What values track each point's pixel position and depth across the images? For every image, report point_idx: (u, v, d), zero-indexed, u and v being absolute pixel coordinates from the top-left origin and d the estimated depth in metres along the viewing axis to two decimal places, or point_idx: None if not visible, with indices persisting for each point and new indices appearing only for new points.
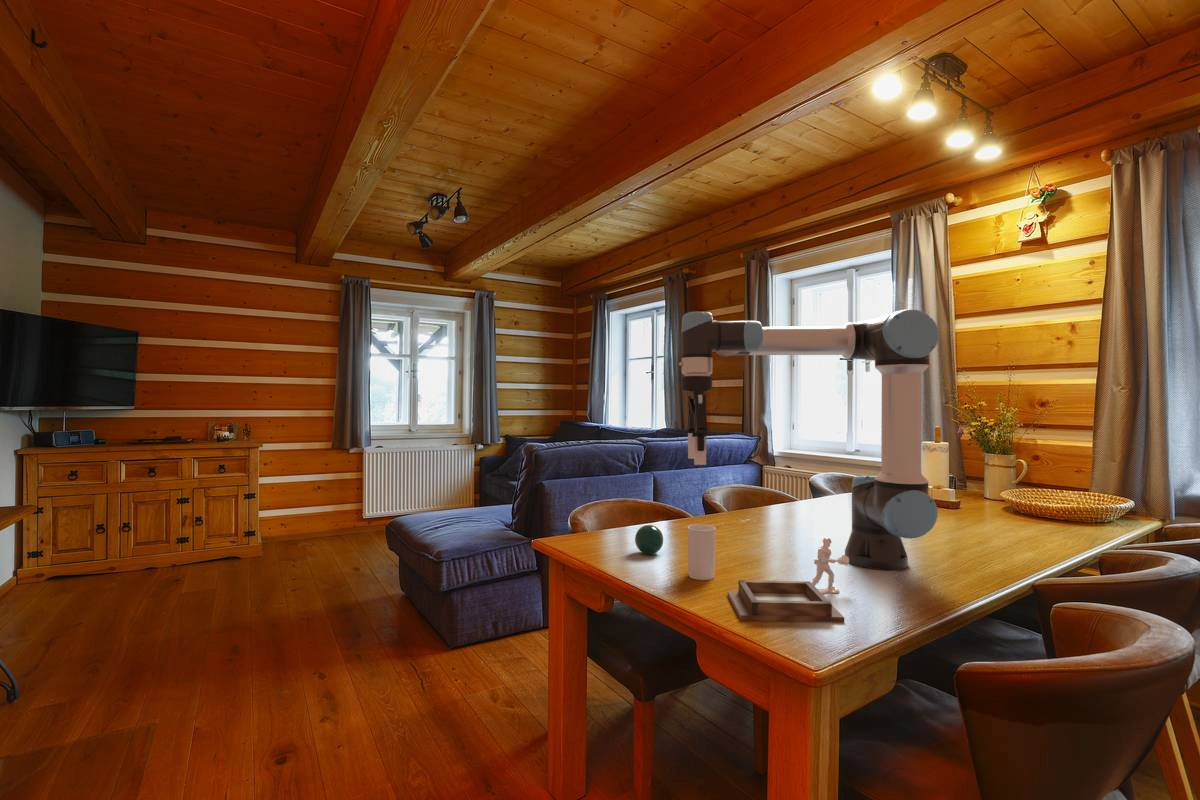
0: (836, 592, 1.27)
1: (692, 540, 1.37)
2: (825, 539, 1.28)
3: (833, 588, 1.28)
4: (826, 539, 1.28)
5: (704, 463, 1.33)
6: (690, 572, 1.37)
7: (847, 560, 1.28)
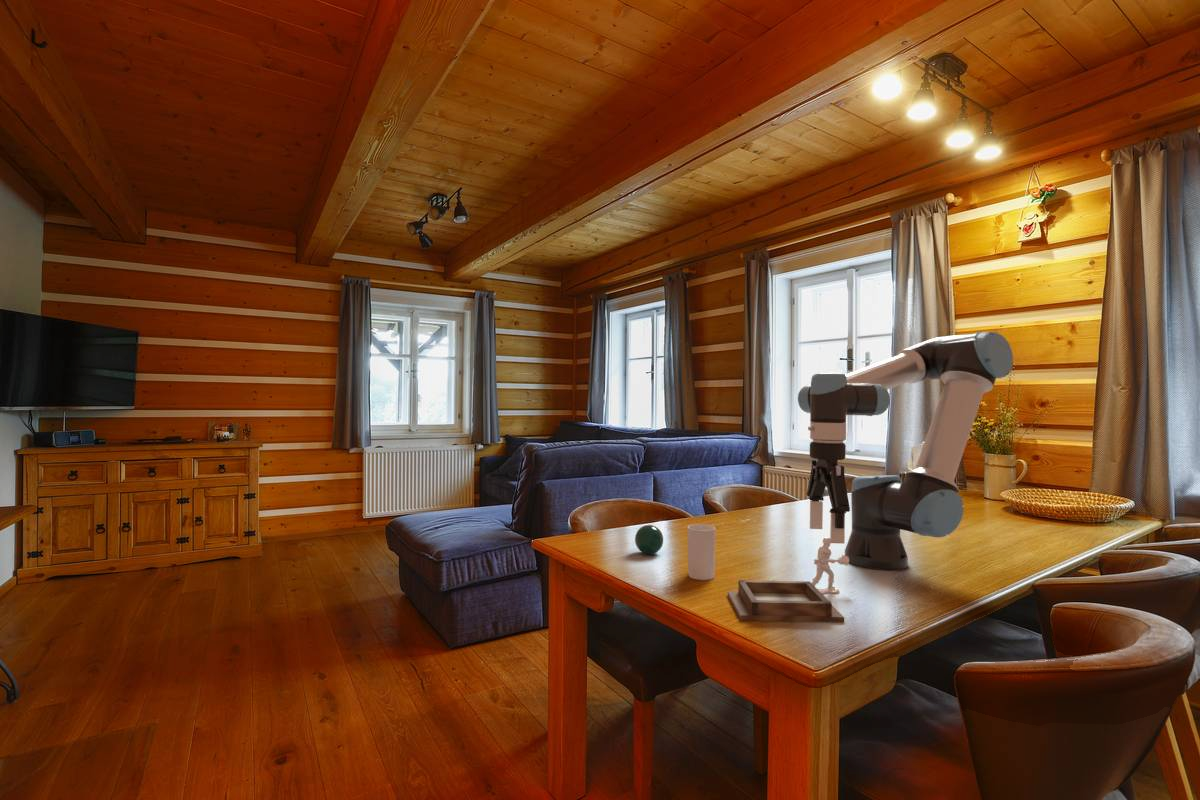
0: (836, 592, 1.27)
1: (692, 540, 1.37)
2: (825, 539, 1.28)
3: (833, 588, 1.28)
4: (826, 539, 1.28)
5: (842, 542, 1.21)
6: (690, 572, 1.37)
7: (847, 560, 1.28)
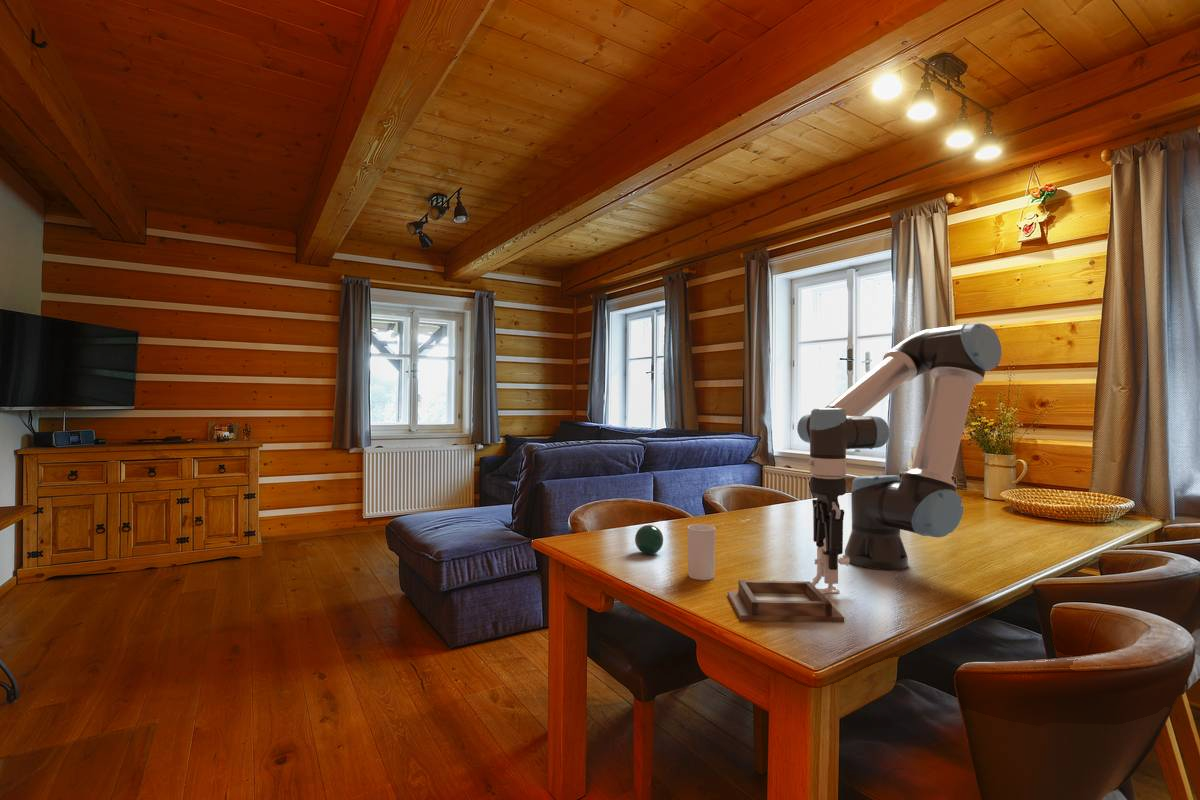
0: (836, 592, 1.27)
1: (692, 540, 1.37)
2: None
3: (833, 588, 1.28)
4: None
5: (836, 582, 1.25)
6: (690, 572, 1.37)
7: (847, 560, 1.28)
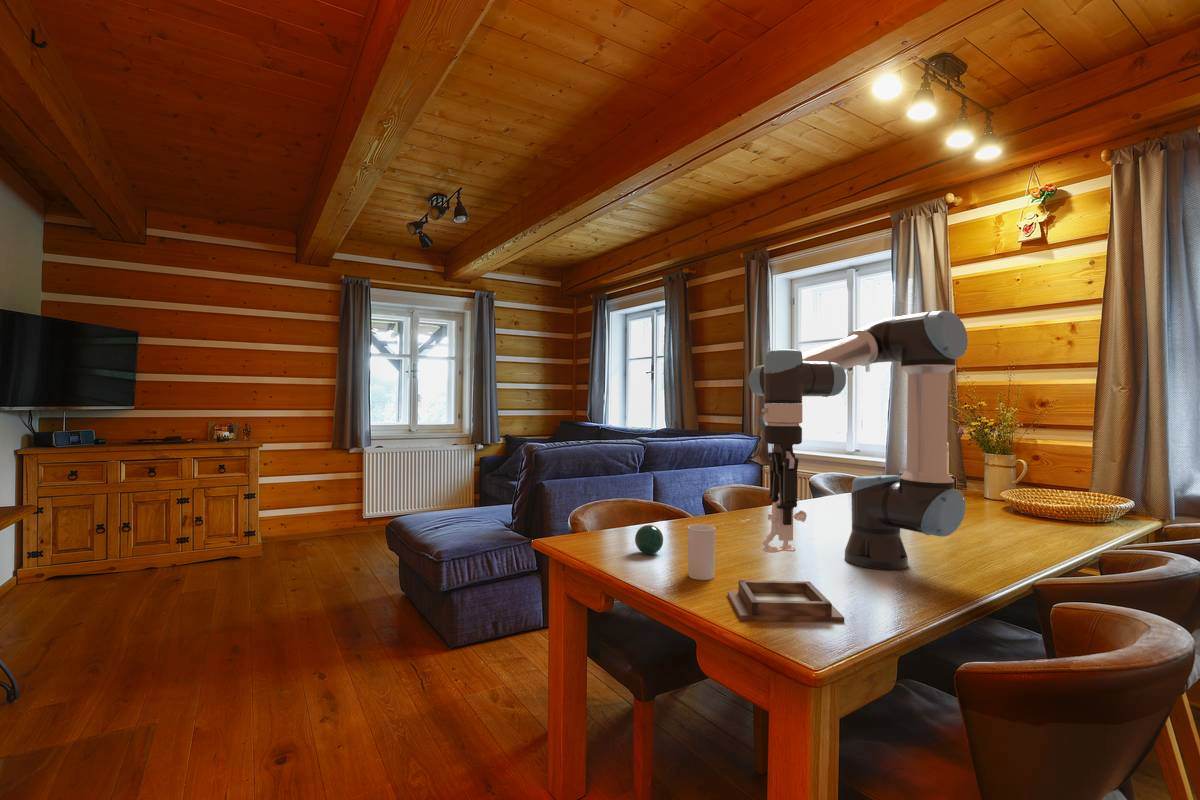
0: (791, 550, 1.16)
1: (692, 540, 1.37)
2: None
3: (788, 546, 1.17)
4: None
5: (791, 539, 1.15)
6: (690, 572, 1.37)
7: (804, 515, 1.17)
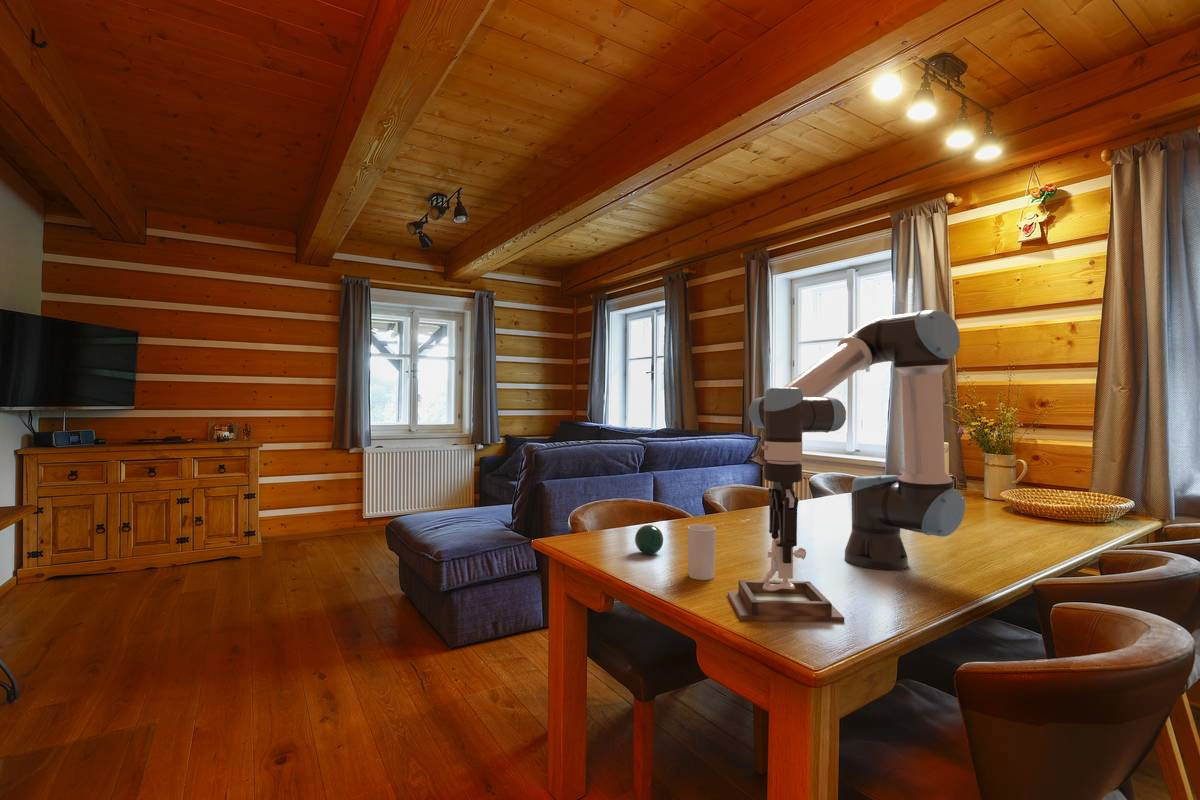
0: (791, 588, 1.16)
1: (692, 540, 1.37)
2: None
3: (788, 583, 1.17)
4: None
5: (790, 577, 1.15)
6: (690, 572, 1.37)
7: (804, 553, 1.17)
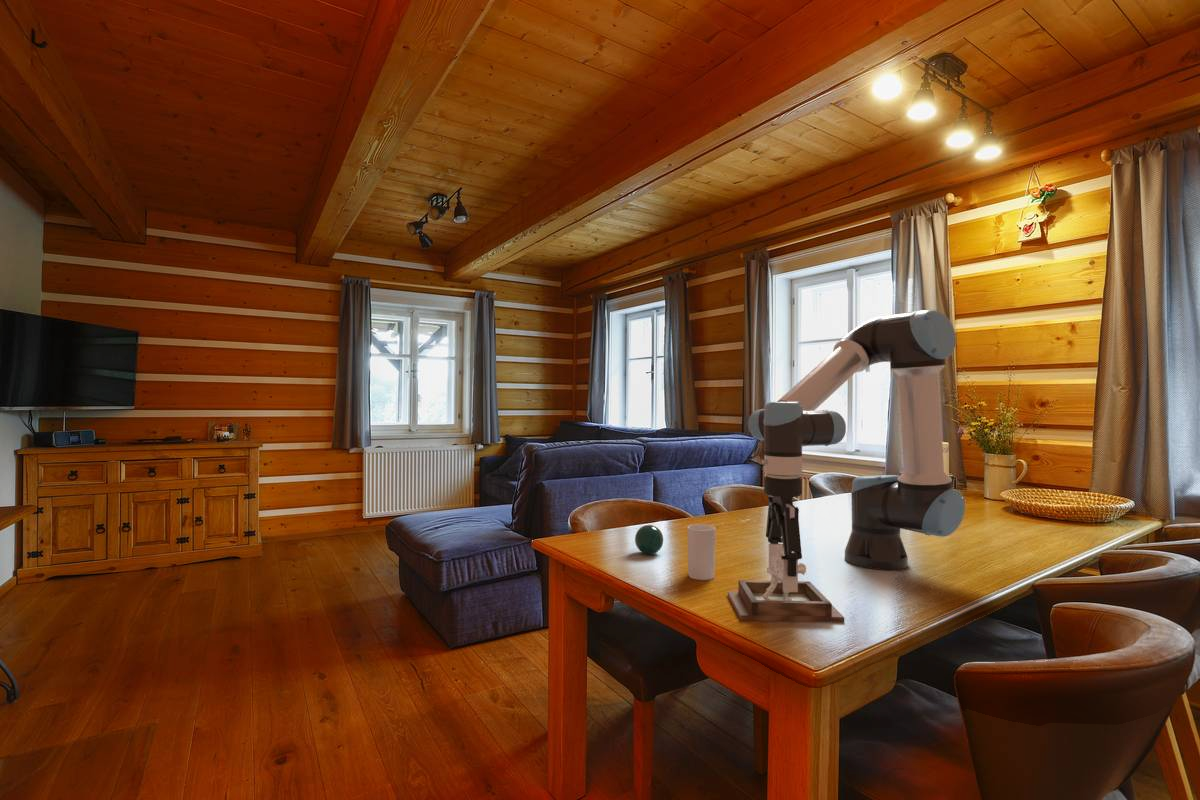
0: None
1: (692, 540, 1.37)
2: (780, 545, 1.18)
3: (788, 599, 1.17)
4: (781, 545, 1.18)
5: (795, 590, 1.12)
6: (690, 572, 1.37)
7: (804, 568, 1.17)
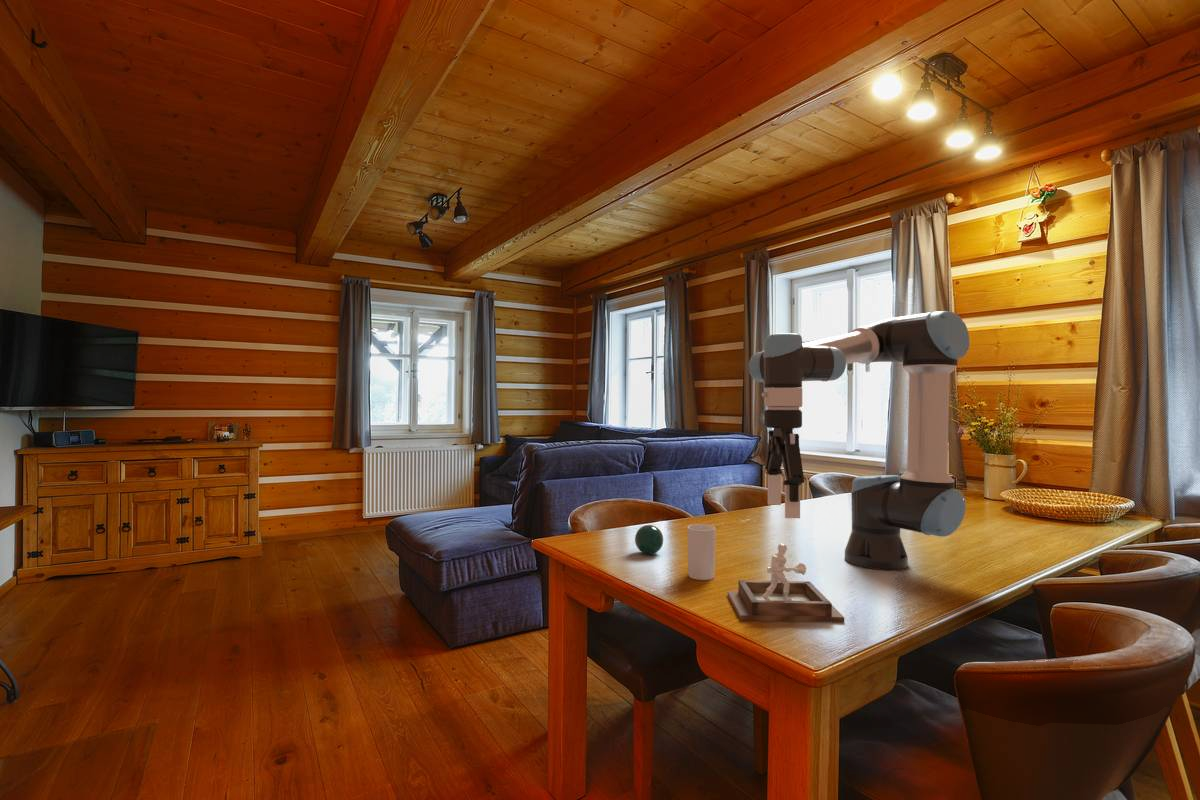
0: None
1: (692, 540, 1.37)
2: (780, 545, 1.18)
3: (788, 599, 1.17)
4: (781, 545, 1.18)
5: (798, 516, 1.10)
6: (690, 572, 1.37)
7: (803, 568, 1.17)
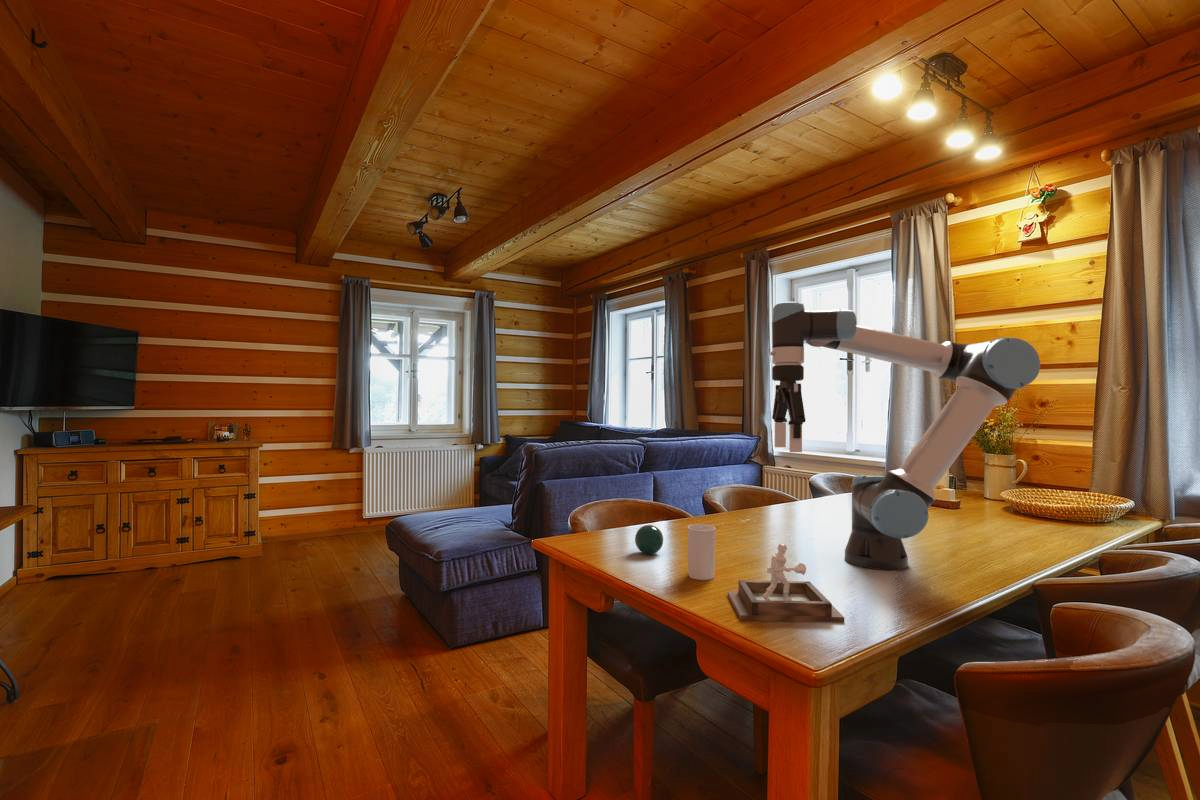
0: None
1: (692, 540, 1.37)
2: (780, 545, 1.18)
3: (788, 599, 1.17)
4: (781, 545, 1.18)
5: (800, 450, 1.35)
6: (690, 572, 1.37)
7: (803, 568, 1.17)
